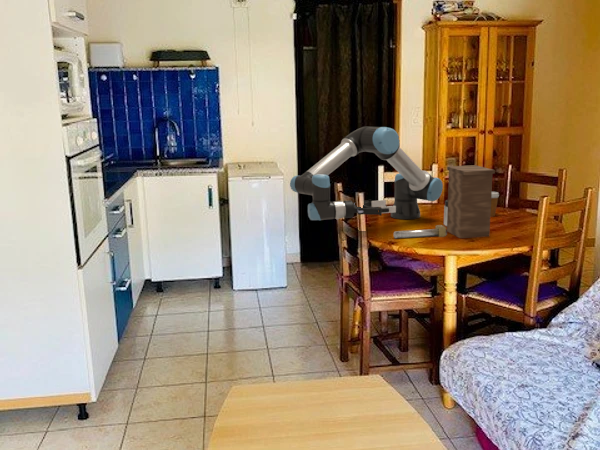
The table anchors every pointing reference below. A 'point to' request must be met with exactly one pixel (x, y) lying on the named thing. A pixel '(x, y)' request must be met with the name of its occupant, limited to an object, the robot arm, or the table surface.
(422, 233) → the pipe
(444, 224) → the jar
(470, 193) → the stand
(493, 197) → the disposable coffee cup
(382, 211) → the robot arm
